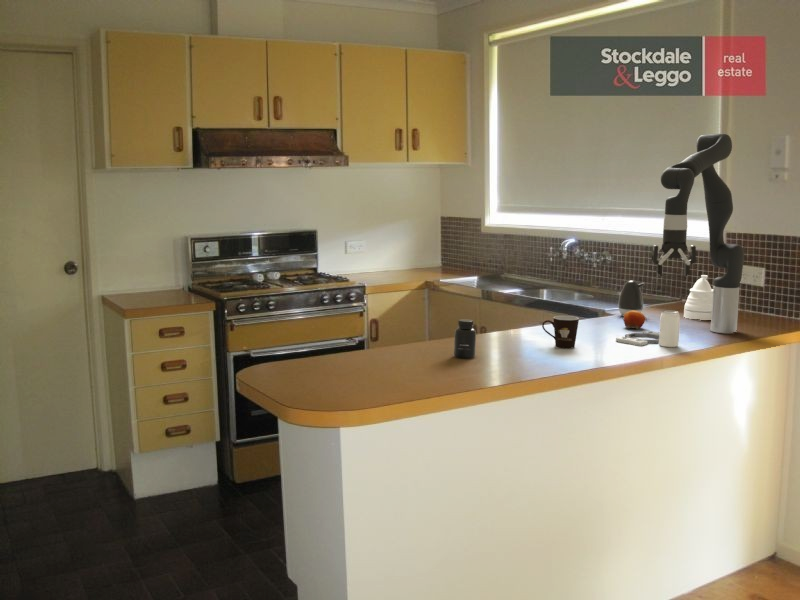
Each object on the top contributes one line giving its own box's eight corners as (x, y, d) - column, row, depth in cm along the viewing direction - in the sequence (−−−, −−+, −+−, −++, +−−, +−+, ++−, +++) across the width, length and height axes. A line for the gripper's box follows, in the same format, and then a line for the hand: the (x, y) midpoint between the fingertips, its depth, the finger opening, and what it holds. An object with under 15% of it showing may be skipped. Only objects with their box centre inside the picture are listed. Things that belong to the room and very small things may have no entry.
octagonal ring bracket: (644, 333, 314) (645, 329, 314) (676, 338, 305) (677, 334, 305) (612, 340, 300) (612, 336, 300) (644, 346, 290) (645, 342, 290)
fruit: (621, 326, 320) (623, 306, 323) (623, 333, 327) (625, 314, 330) (643, 327, 317) (645, 308, 320) (644, 335, 324) (646, 316, 327)
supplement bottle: (461, 360, 267) (461, 322, 266) (450, 355, 273) (450, 319, 272) (479, 357, 270) (480, 321, 269) (468, 353, 276) (468, 317, 275)
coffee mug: (582, 346, 289) (583, 318, 288) (569, 350, 283) (570, 321, 282) (553, 341, 297) (554, 313, 296) (540, 345, 291) (540, 316, 289)
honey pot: (721, 320, 343) (724, 276, 340) (689, 320, 343) (692, 276, 340) (710, 315, 355) (712, 273, 353) (679, 315, 356) (682, 272, 353)
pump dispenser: (641, 319, 345) (643, 282, 343) (615, 317, 349) (617, 280, 347) (645, 315, 354) (647, 279, 352) (620, 313, 358) (621, 278, 356)
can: (679, 348, 288) (681, 313, 287) (659, 347, 290) (661, 312, 288) (677, 344, 295) (679, 310, 293) (657, 343, 296) (659, 309, 294)
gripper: (693, 227, 287) (690, 274, 289) (650, 227, 287) (648, 274, 290) (700, 229, 279) (697, 277, 282) (656, 228, 280) (654, 277, 282)
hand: (672, 275), depth 286 cm, fingers open, 8 cm apart
